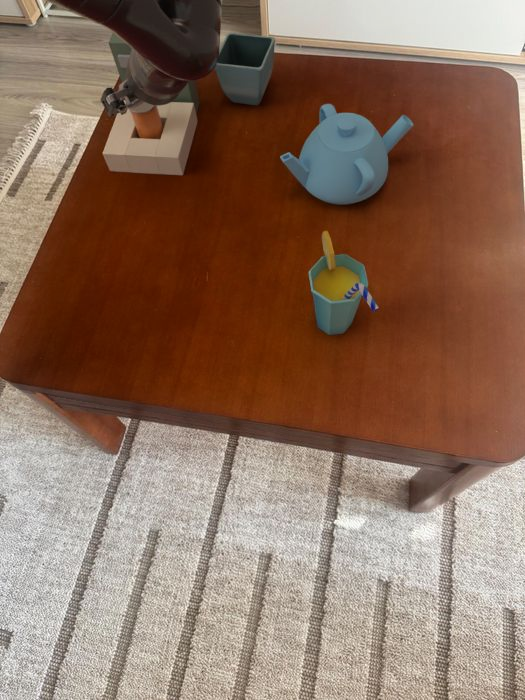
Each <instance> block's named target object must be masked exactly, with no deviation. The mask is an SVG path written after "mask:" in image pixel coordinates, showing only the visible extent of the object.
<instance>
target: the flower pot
mask: <svg viewBox="0 0 525 700" xmlns="http://www.w3.org/2000/svg"><path fill="white" fill-rule="evenodd" d="M275 43H276V38H275V37H273V36H268V35H257V34H247V33H237V32H228V33H227V34H226V35H225V37H224V39H223V41H222V44H221V45H220V48H219V57H218V62H217V65H216V66H215V68H214V71H215V73H216V77H217V79H218V84H219V86H220V88H221V90H222V92H223V94H224V95H225V96H226V97H227V99H229V100H230V101H231V102H233V103H235V104H242V105H251V106H259V105H260V103H261V102H262V100H263V96H264V95H265V92H266V89H267V87H268V85H269V82H270V81H271V80H270V79H271V76H272V74H273V68H274V60H275V48H276V47H275V46H276V44H275Z"/></svg>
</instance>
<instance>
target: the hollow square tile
mask: <svg viewBox="0 0 525 700" xmlns="http://www.w3.org/2000/svg"><path fill="white" fill-rule="evenodd" d="M123 101H124V102H125V104H126V101H125V99H123ZM157 109H158V112H159V115H160V119H161V122H162V126H163V132H162V136H161V139H143V138H140V137H139V134H138V132H137V129H136V126H135V123H134V120H133V117H132V114H131V111H130V110H129V109H127V112H126V113H125V114H123V115H121V114H120V113H118V114H117V113H116V115H115V119H114V122H113V123H112V124H113V125H112V127H111V130H110V132H109V135H108V138H107V141H106V143H105V146H104V149H103V151H102V156H103V158H104V161H105V163H106V165H107V168H108V170H109V172H116V173H133V174H134V173H135V174H151V175H167V176H169V175H170V176H184V173H185V170H186V166H187V162H188V159H189V155H190V151H191V147H192V144H193V140H194V136H195V133H196V130H197V125H198V122H199V121H198V115H197V114H196V111H195V107H194V103H184V102H170V103H168V104H166V105H160V106H157Z"/></svg>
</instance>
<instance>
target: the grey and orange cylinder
mask: <svg viewBox="0 0 525 700" xmlns="http://www.w3.org/2000/svg"><path fill="white" fill-rule="evenodd" d="M135 100H136V101H137V100H138V99H135ZM128 109H129V110H130V111H131V114H132V117H133V120H134V123H135V126H136V129H137V132H138V134H139V137H140V138H143V139H161V136H162V132H163V126H162V122H161V119H160V115H159V112H158V109H157V105H151V104H148V103H146V102H144V103H142V104H141V105H139V106H138V107H136V108H133V109H130V108H128Z"/></svg>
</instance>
